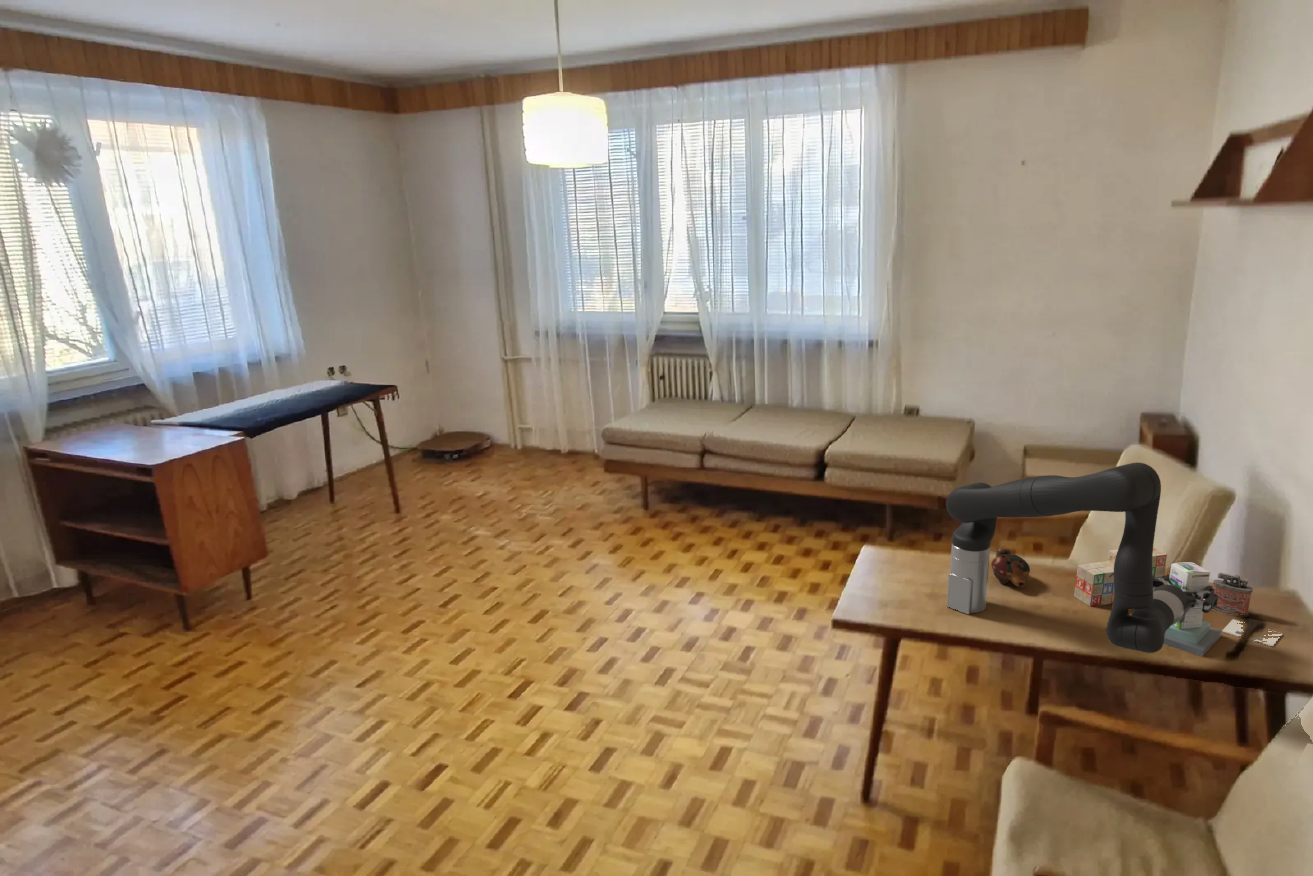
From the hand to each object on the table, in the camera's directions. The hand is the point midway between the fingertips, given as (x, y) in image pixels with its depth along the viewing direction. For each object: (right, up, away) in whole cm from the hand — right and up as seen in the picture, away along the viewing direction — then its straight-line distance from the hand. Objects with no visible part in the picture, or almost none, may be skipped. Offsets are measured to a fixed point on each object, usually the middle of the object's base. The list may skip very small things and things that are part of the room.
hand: (1189, 583), depth 190 cm
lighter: (+18, -10, +13) cm, 24 cm away
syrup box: (-1, -10, +2) cm, 10 cm away
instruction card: (+17, -12, +3) cm, 21 cm away
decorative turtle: (-28, -6, +34) cm, 44 cm away
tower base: (0, -13, +3) cm, 13 cm away
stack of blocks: (-4, -8, +23) cm, 25 cm away
